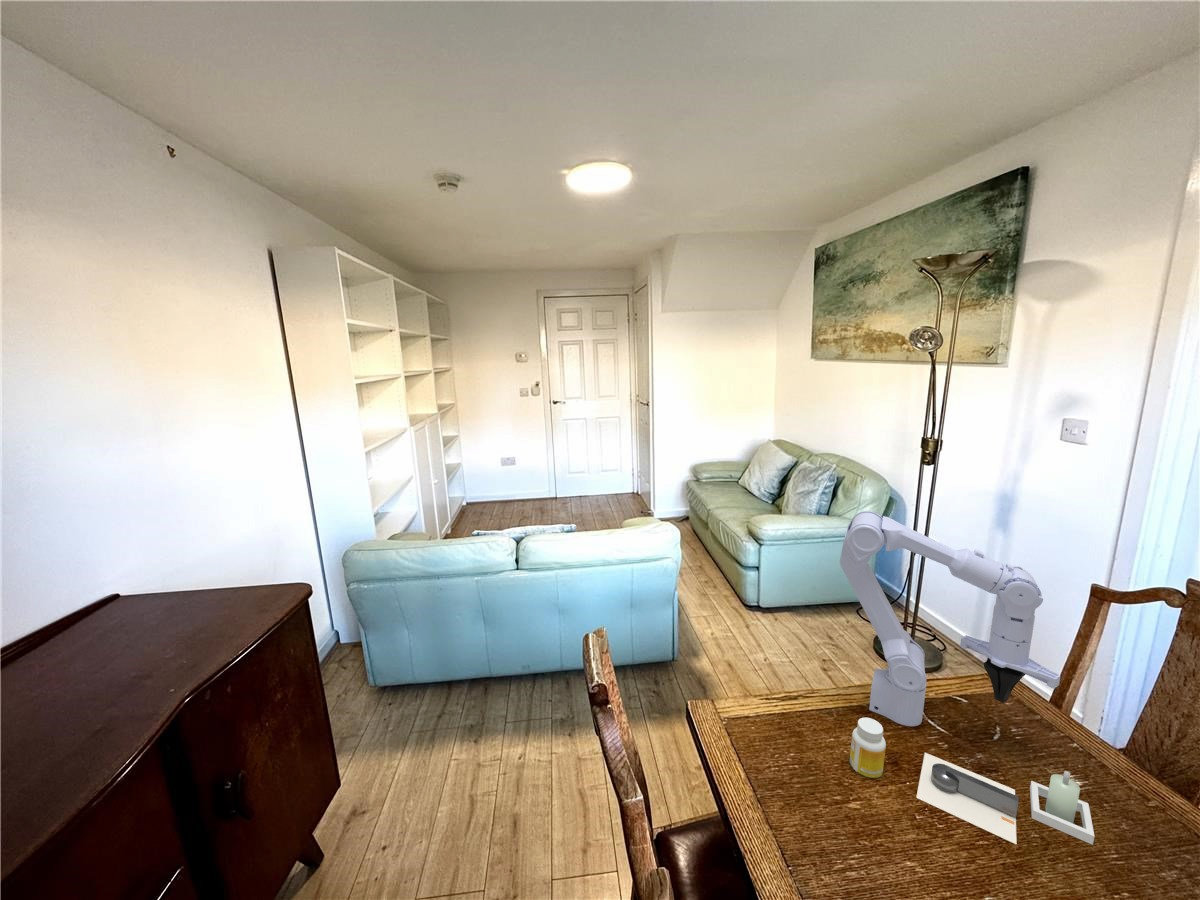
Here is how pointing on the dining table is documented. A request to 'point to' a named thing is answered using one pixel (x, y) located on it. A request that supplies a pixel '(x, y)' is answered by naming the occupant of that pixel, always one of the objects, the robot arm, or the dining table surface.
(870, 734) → the supplement bottle
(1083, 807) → the tool holder
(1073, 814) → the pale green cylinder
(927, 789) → the dial panel
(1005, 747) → the dining table surface
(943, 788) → the dial lever
